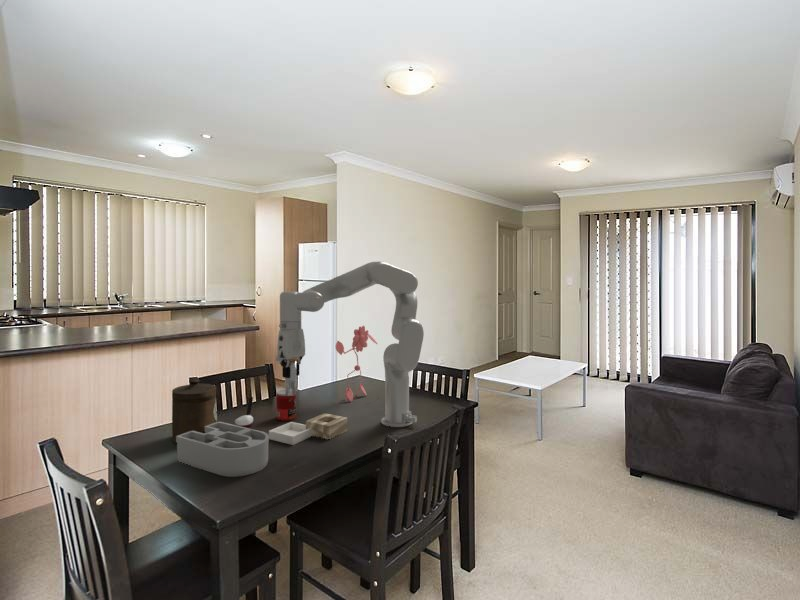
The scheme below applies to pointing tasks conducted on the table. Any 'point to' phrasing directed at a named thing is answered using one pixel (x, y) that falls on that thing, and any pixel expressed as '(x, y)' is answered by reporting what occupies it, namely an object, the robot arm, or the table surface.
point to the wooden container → (193, 407)
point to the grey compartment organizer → (224, 449)
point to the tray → (290, 433)
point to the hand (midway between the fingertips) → (291, 375)
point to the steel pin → (291, 378)
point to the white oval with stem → (246, 417)
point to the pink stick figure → (359, 342)
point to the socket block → (327, 425)
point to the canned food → (285, 406)
